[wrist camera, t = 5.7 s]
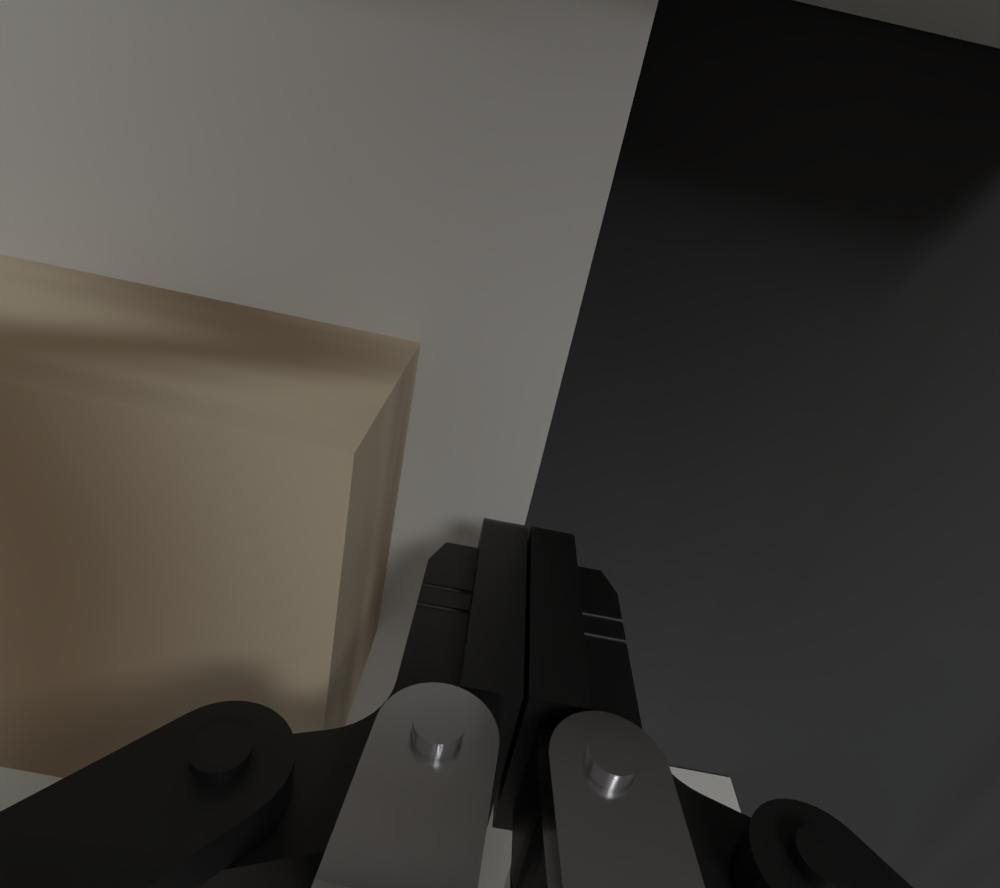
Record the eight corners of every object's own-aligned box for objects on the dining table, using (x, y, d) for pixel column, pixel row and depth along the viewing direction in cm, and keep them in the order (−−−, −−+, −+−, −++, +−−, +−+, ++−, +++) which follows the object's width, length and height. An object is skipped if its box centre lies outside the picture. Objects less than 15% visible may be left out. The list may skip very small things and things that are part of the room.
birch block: (420, 342, 10) (354, 452, 6) (377, 628, 12) (312, 822, 9) (-25, 248, 10) (-359, 307, 6) (24, 559, 12) (-191, 732, 9)
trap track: (1147, 3, 10) (1650, -117, 5) (718, 799, 19) (776, 1008, 14) (-986, -505, 9) (-2588, -1193, 4) (-393, 597, 17) (-718, 753, 13)
